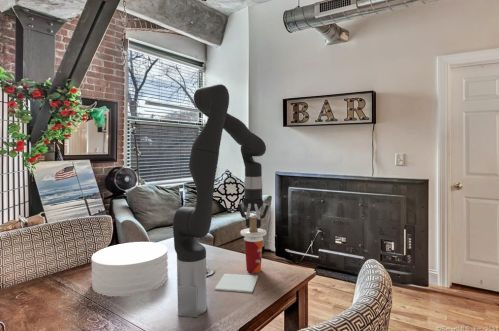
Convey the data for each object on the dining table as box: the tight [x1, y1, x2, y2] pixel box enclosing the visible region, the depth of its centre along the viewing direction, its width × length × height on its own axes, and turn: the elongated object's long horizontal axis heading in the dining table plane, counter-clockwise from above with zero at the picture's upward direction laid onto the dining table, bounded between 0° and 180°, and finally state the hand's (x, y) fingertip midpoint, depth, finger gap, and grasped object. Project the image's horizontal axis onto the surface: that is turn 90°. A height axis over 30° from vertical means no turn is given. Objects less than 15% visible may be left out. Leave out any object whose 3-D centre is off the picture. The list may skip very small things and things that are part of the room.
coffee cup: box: [243, 236, 264, 274], centre depth 136 cm, size 8×8×15 cm
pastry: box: [206, 265, 216, 277], centre depth 134 cm, size 12×12×5 cm
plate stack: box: [91, 241, 169, 298], centre depth 126 cm, size 28×28×12 cm
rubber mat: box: [214, 273, 259, 294], centre depth 123 cm, size 14×14×1 cm
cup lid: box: [240, 216, 267, 238], centre depth 135 cm, size 11×11×7 cm
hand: (253, 227), depth 135 cm, fingers closed on cup lid, 3 cm apart
